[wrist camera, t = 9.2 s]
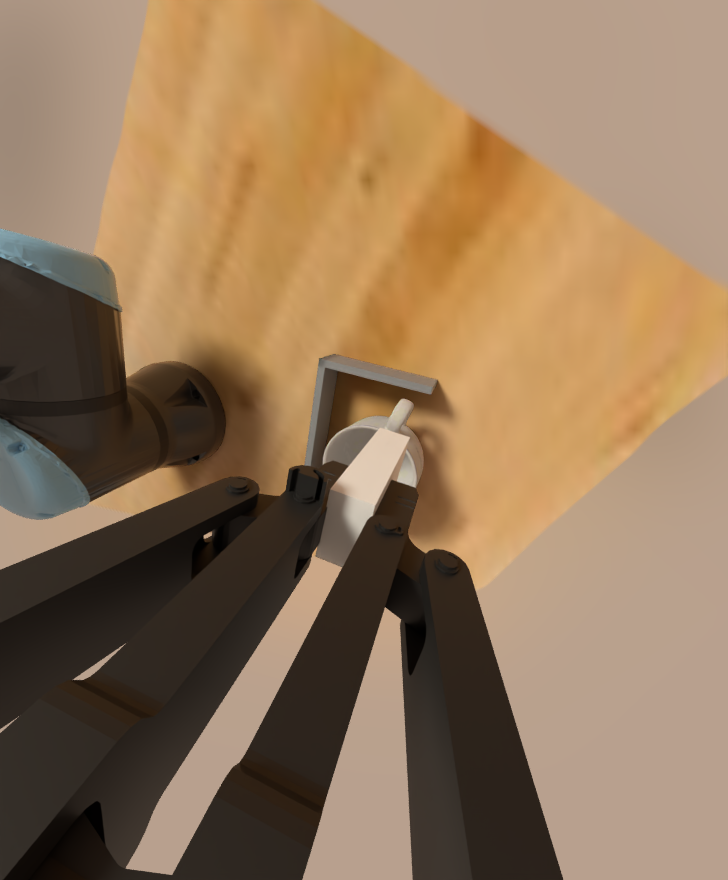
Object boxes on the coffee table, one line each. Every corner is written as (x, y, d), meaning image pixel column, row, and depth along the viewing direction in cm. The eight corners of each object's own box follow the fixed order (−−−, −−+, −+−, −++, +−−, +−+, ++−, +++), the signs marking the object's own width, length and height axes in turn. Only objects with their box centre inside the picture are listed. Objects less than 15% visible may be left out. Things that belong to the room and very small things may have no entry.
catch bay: (314, 479, 51) (300, 494, 47) (334, 354, 44) (319, 358, 40) (402, 508, 48) (395, 526, 44) (437, 379, 41) (432, 387, 37)
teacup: (392, 502, 48) (377, 536, 41) (329, 451, 49) (303, 475, 41) (463, 427, 42) (460, 451, 35) (391, 369, 43) (373, 380, 35)
